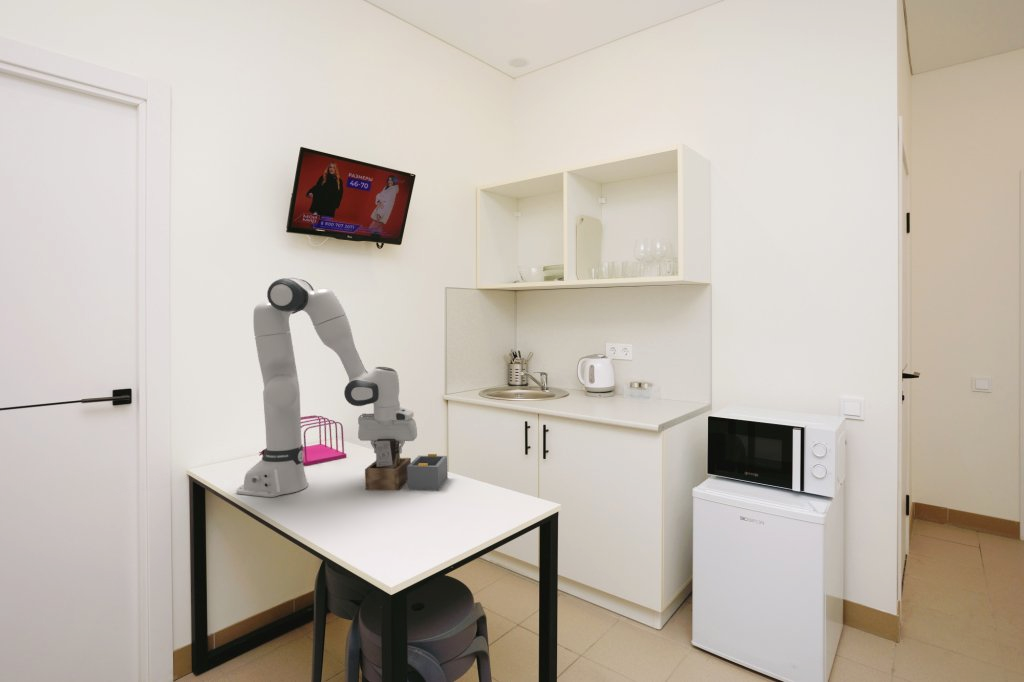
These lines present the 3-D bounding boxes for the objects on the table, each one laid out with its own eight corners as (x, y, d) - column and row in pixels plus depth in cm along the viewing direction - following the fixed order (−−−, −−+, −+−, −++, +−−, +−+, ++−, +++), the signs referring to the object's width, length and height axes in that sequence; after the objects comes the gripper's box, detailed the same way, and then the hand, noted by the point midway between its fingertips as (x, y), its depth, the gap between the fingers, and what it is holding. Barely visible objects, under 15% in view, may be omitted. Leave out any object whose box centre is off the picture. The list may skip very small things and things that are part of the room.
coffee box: (395, 487, 180) (393, 440, 179) (376, 487, 180) (374, 440, 179) (401, 478, 189) (400, 434, 188) (383, 479, 189) (381, 434, 188)
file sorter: (304, 466, 207) (303, 427, 206) (281, 454, 226) (280, 418, 225) (346, 457, 219) (345, 420, 218) (321, 447, 237) (320, 412, 237)
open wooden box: (365, 489, 178) (364, 469, 178) (380, 476, 192) (380, 457, 192) (398, 490, 177) (397, 469, 176) (411, 476, 191) (410, 457, 191)
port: (408, 490, 177) (407, 464, 177) (419, 477, 190) (418, 453, 190) (438, 490, 176) (437, 464, 175) (447, 477, 189) (447, 453, 189)
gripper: (354, 415, 181) (355, 455, 182) (412, 415, 179) (413, 455, 180) (361, 411, 188) (362, 450, 188) (417, 412, 185) (418, 451, 186)
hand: (388, 453), depth 184 cm, fingers closed on coffee box, 6 cm apart
